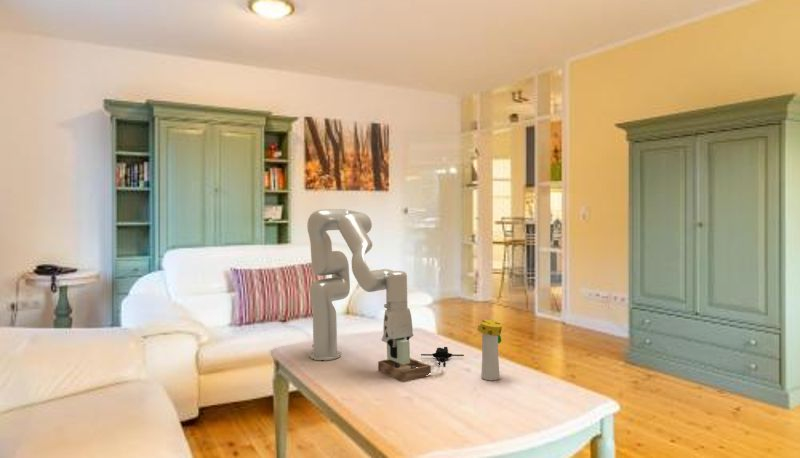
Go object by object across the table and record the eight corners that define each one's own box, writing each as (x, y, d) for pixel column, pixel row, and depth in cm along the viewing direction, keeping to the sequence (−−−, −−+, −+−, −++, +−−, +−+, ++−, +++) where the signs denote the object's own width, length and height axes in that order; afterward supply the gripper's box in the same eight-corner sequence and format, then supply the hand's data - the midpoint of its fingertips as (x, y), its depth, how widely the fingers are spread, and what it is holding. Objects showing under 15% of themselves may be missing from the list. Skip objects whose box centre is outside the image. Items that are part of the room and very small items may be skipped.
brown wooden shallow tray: (378, 370, 192) (378, 361, 192) (404, 364, 199) (404, 355, 199) (403, 382, 179) (403, 372, 179) (430, 375, 186) (430, 365, 186)
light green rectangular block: (387, 358, 191) (386, 336, 190) (394, 356, 193) (394, 335, 192) (402, 364, 182) (402, 342, 182) (410, 363, 184) (410, 340, 184)
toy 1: (464, 369, 195) (463, 355, 210) (464, 358, 195) (463, 344, 210) (419, 369, 197) (421, 355, 212) (418, 357, 197) (421, 344, 212)
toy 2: (505, 375, 185) (505, 319, 184) (499, 383, 177) (498, 324, 176) (483, 372, 188) (482, 317, 187) (476, 380, 180) (475, 322, 179)
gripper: (383, 310, 179) (384, 363, 180) (421, 304, 188) (422, 354, 189) (372, 307, 185) (373, 358, 186) (409, 301, 195) (410, 350, 195)
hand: (398, 356), depth 187 cm, fingers closed on light green rectangular block, 3 cm apart
